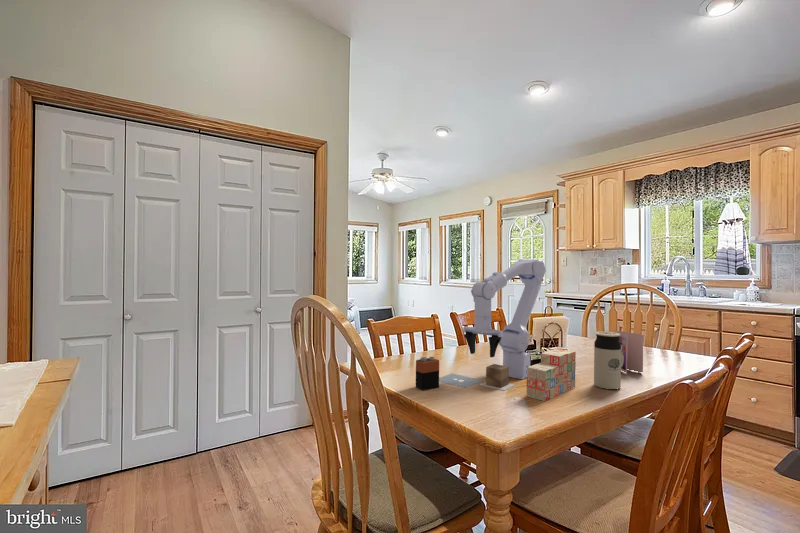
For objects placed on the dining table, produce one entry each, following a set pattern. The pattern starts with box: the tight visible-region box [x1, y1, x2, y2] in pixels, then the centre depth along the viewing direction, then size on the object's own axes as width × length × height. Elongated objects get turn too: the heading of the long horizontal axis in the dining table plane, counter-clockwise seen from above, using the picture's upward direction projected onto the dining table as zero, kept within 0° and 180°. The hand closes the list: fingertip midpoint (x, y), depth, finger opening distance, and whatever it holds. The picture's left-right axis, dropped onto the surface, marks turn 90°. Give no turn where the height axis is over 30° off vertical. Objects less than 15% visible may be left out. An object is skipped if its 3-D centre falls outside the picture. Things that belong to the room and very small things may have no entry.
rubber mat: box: [479, 381, 516, 392], centre depth 135 cm, size 9×8×1 cm
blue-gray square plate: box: [439, 372, 484, 389], centre depth 141 cm, size 13×12×1 cm
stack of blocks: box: [526, 348, 577, 402], centre depth 129 cm, size 21×6×12 cm, turn 134°
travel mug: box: [593, 331, 622, 390], centre depth 135 cm, size 8×8×18 cm
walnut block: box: [485, 363, 510, 388], centre depth 135 cm, size 6×6×6 cm
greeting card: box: [614, 330, 644, 374], centre depth 155 cm, size 11×7×15 cm, turn 174°
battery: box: [415, 356, 440, 391], centre depth 132 cm, size 4×7×10 cm, turn 121°
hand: (482, 355), depth 141 cm, fingers open, 7 cm apart
